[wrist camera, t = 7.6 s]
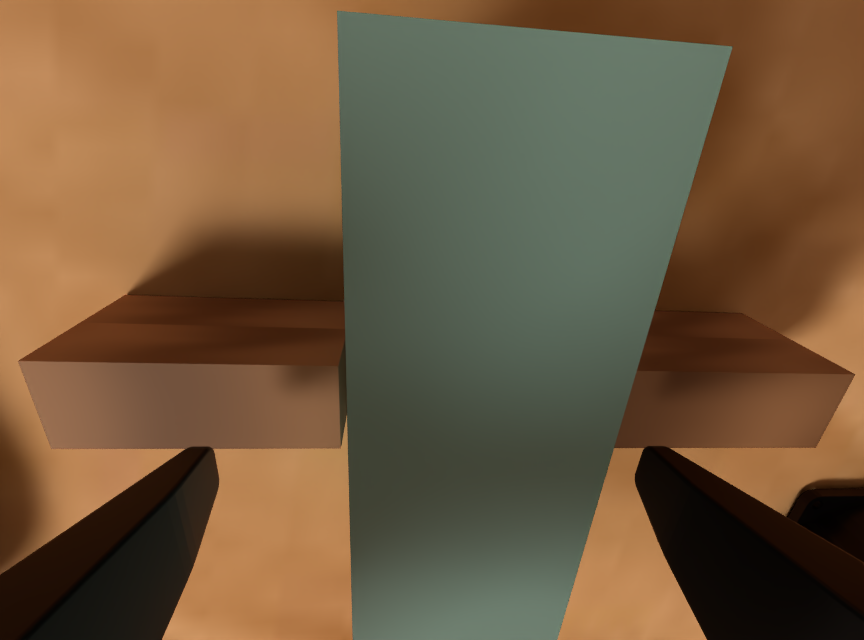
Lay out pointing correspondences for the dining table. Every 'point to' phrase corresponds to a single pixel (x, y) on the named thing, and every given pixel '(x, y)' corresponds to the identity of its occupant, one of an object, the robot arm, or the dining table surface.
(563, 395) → the teal plate
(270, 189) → the dining table surface
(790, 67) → the dining table surface
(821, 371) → the walnut rail
